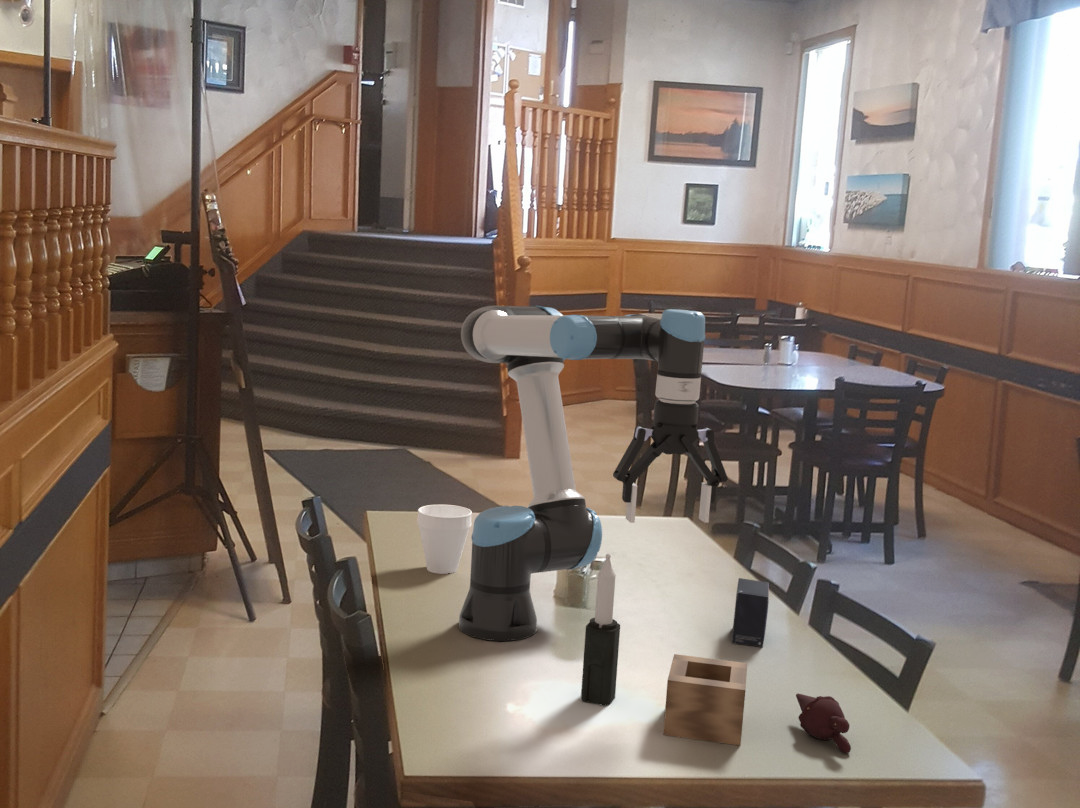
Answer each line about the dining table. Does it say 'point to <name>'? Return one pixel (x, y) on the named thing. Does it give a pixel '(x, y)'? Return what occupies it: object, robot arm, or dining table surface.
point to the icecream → (824, 719)
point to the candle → (601, 643)
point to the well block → (705, 699)
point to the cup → (443, 535)
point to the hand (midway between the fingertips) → (667, 520)
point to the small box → (750, 612)
